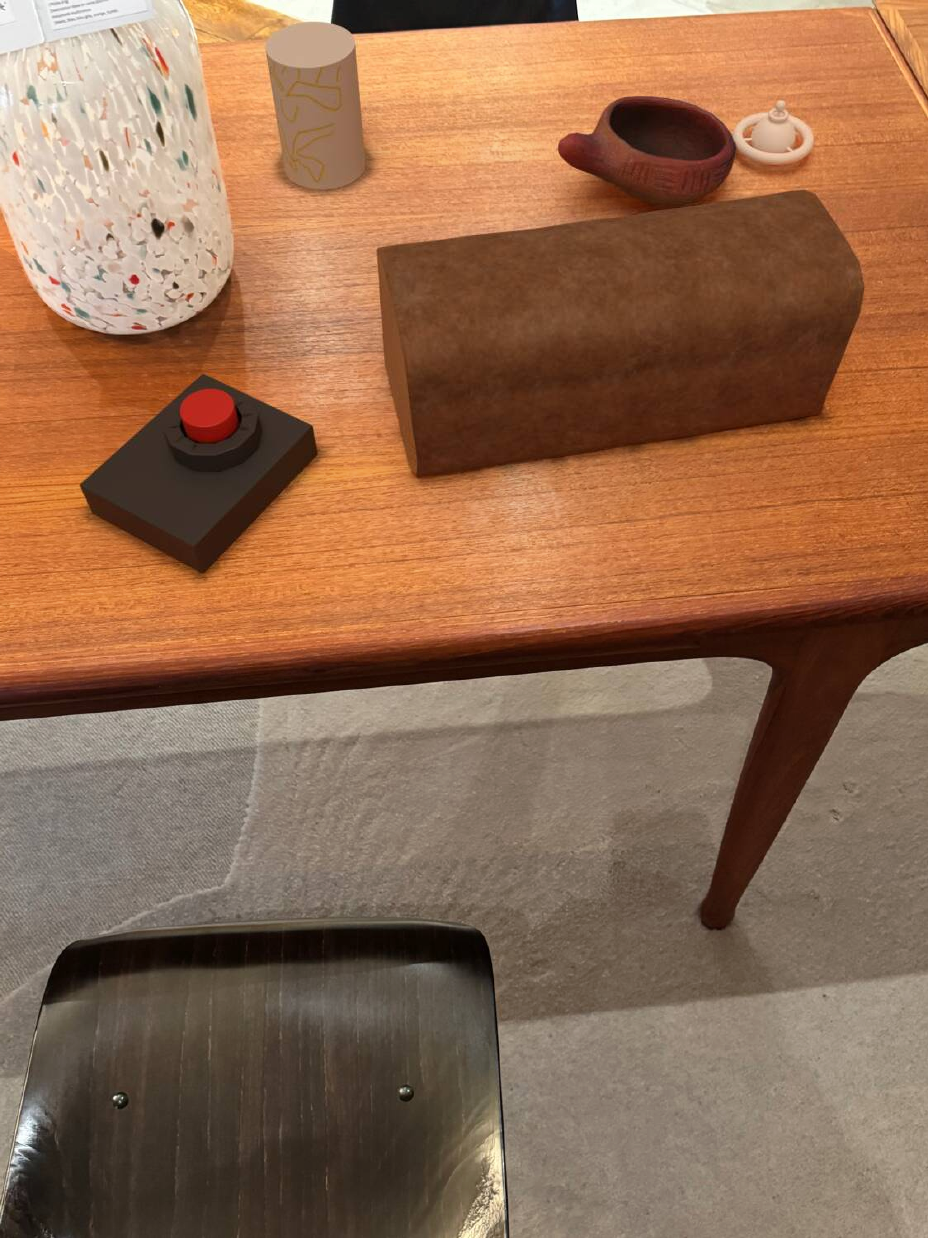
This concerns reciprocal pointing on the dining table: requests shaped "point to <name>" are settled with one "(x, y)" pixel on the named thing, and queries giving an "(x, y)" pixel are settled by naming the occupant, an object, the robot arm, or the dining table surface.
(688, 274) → the bread
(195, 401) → the power button
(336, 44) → the cup
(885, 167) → the dining table surface
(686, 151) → the bowl
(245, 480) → the red push button box
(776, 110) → the ring around a ball
